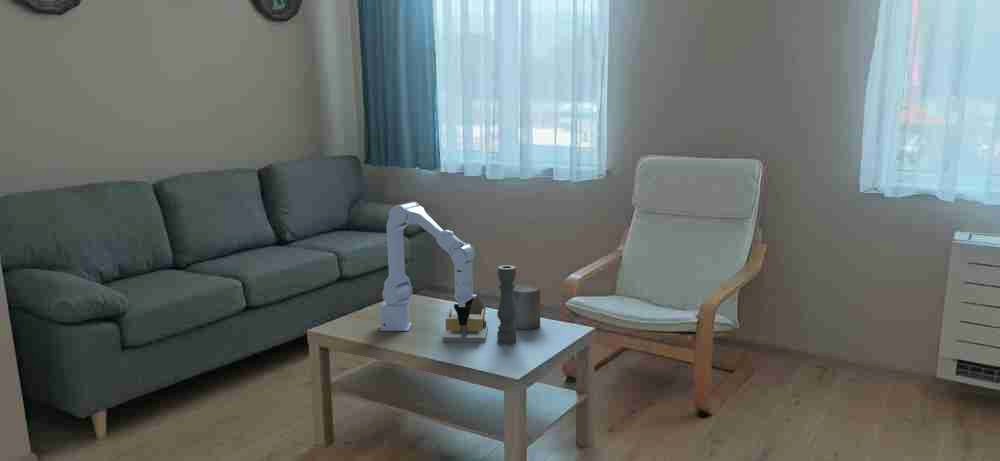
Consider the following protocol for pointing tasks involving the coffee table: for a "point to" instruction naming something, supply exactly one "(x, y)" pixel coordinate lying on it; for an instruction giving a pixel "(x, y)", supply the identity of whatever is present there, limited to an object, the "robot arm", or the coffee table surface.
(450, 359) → the coffee table surface
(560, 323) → the coffee table surface
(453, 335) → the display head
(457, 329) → the tan bracket frame
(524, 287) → the pillar candle
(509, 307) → the candle holder
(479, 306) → the vase
